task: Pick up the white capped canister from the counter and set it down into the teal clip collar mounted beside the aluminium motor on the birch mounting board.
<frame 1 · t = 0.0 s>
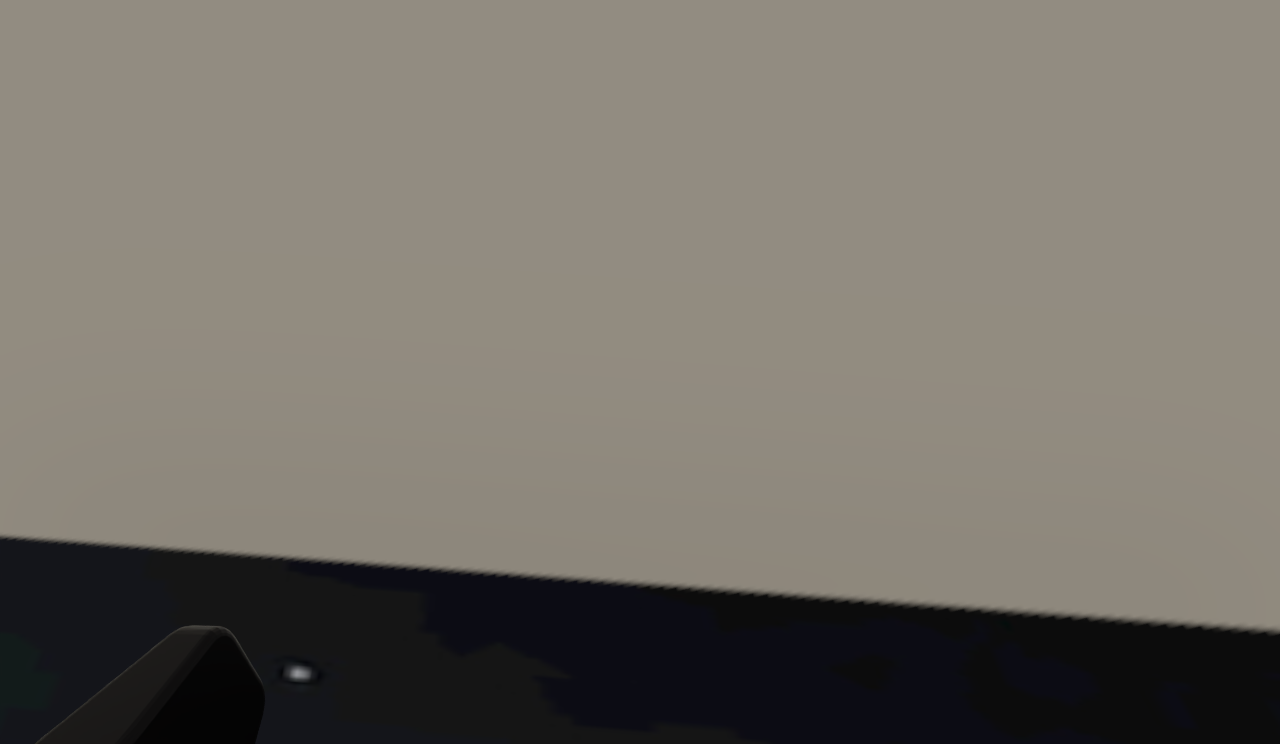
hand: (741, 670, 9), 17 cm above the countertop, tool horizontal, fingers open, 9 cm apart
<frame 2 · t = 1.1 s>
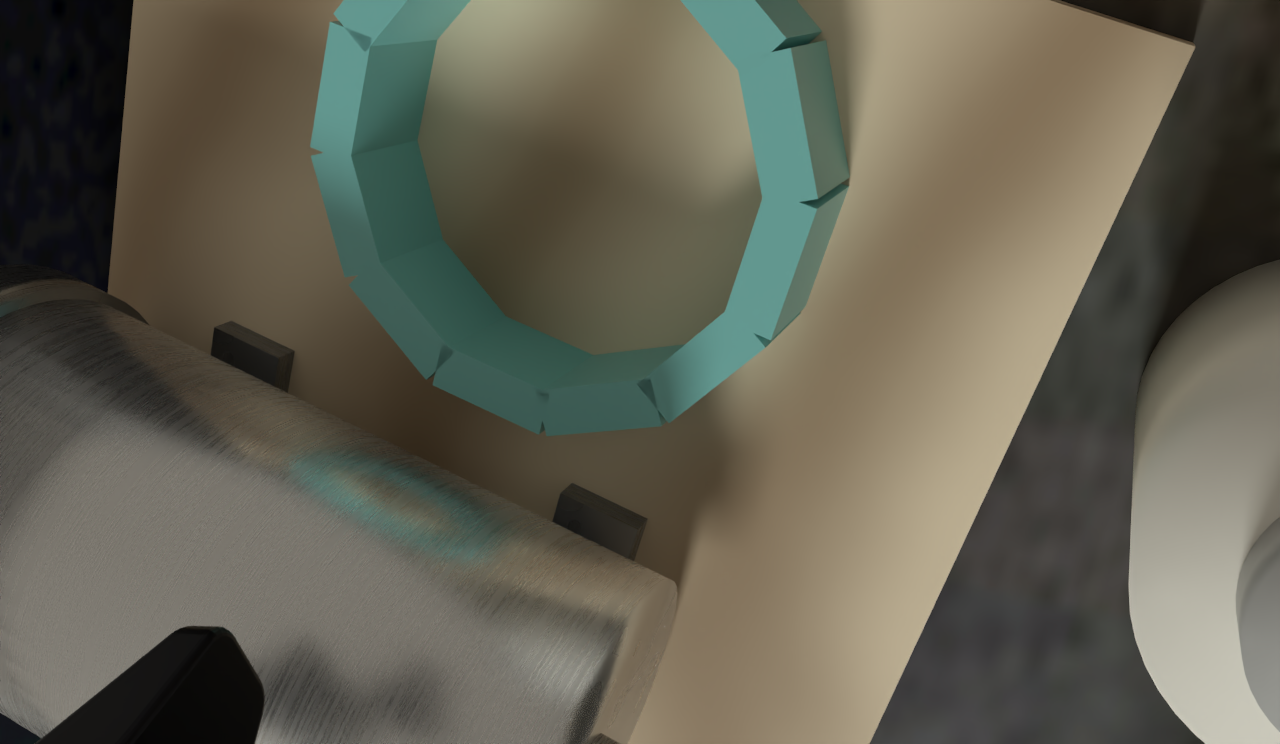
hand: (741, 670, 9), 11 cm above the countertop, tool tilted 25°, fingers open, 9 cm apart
clip collar: (619, 149, 21), resting on mount board
motor: (431, 500, 25), resting on mount board
mount board: (520, 329, 23), on the countertop
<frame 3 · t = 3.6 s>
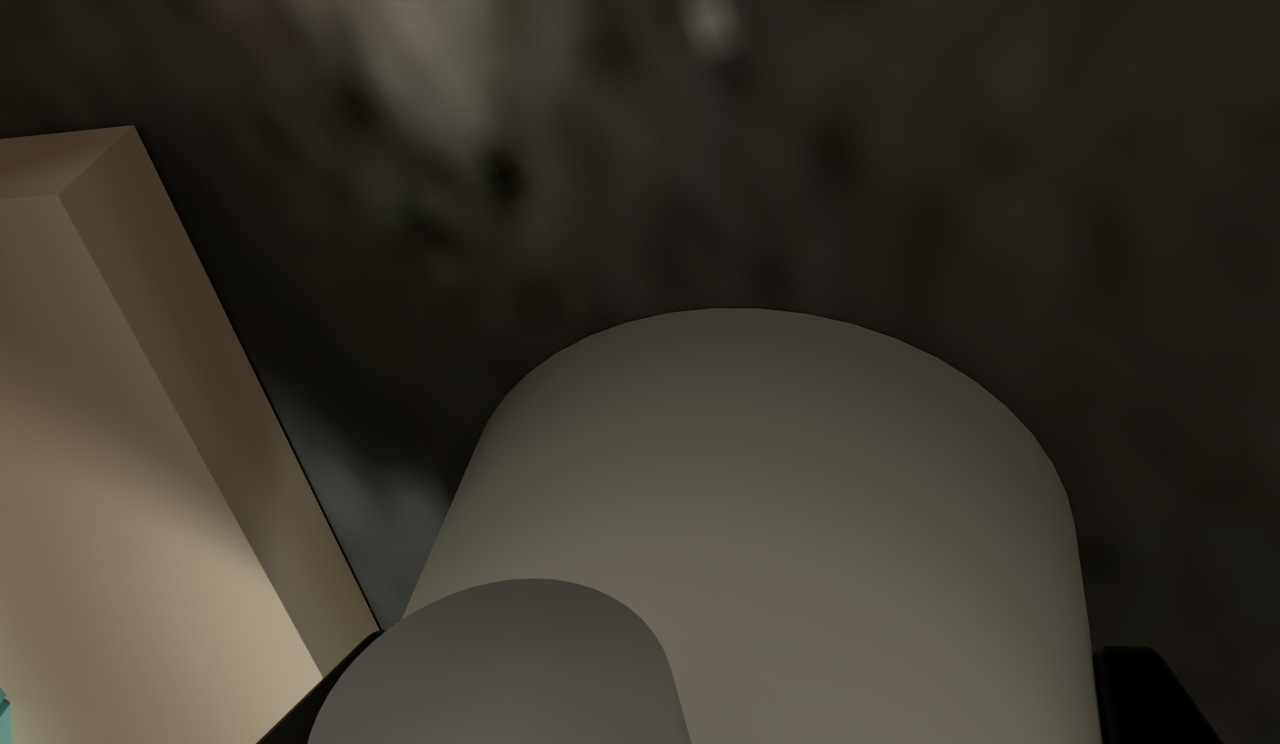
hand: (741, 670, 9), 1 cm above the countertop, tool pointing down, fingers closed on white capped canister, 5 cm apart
white capped canister: (758, 552, 10), on the countertop, touching gripper
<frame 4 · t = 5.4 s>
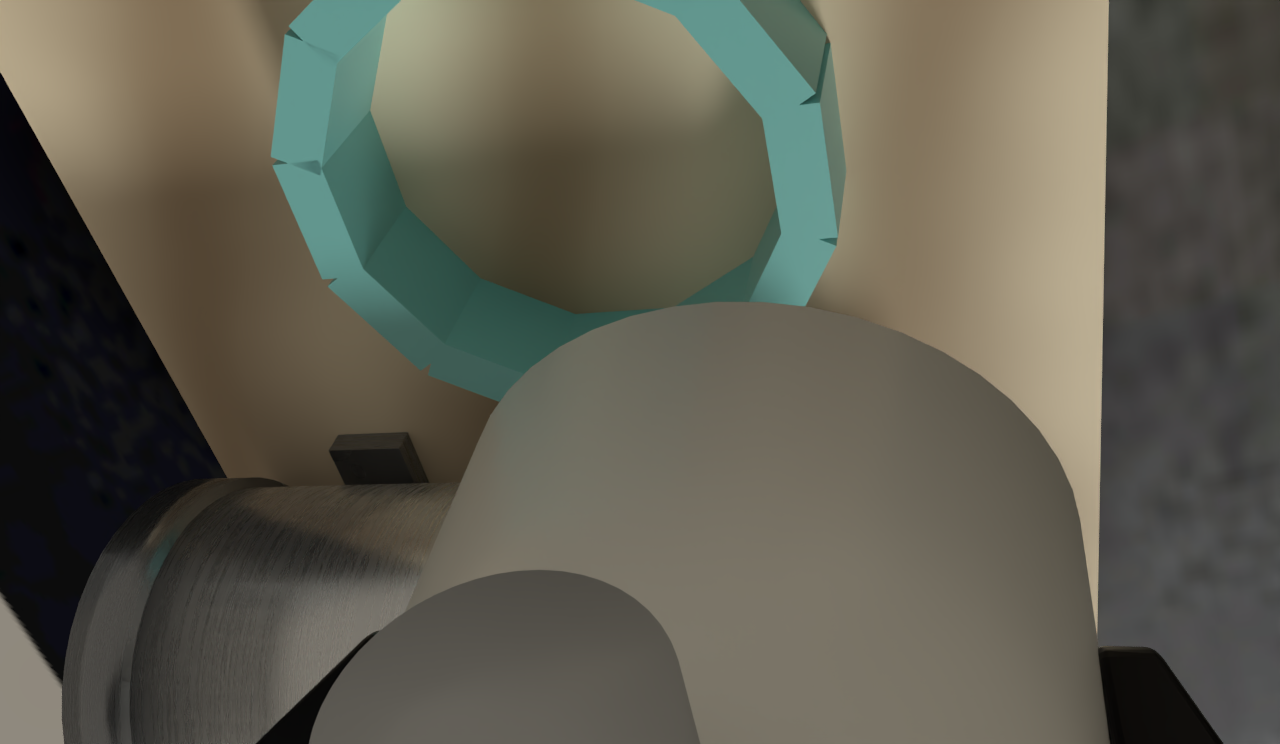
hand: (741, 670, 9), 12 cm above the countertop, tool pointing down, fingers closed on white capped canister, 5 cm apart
clip collar: (591, 110, 20), resting on mount board
motor: (596, 485, 25), resting on mount board
white capped canister: (761, 548, 10), point 11 cm above the countertop, touching gripper
mount board: (591, 309, 22), on the countertop
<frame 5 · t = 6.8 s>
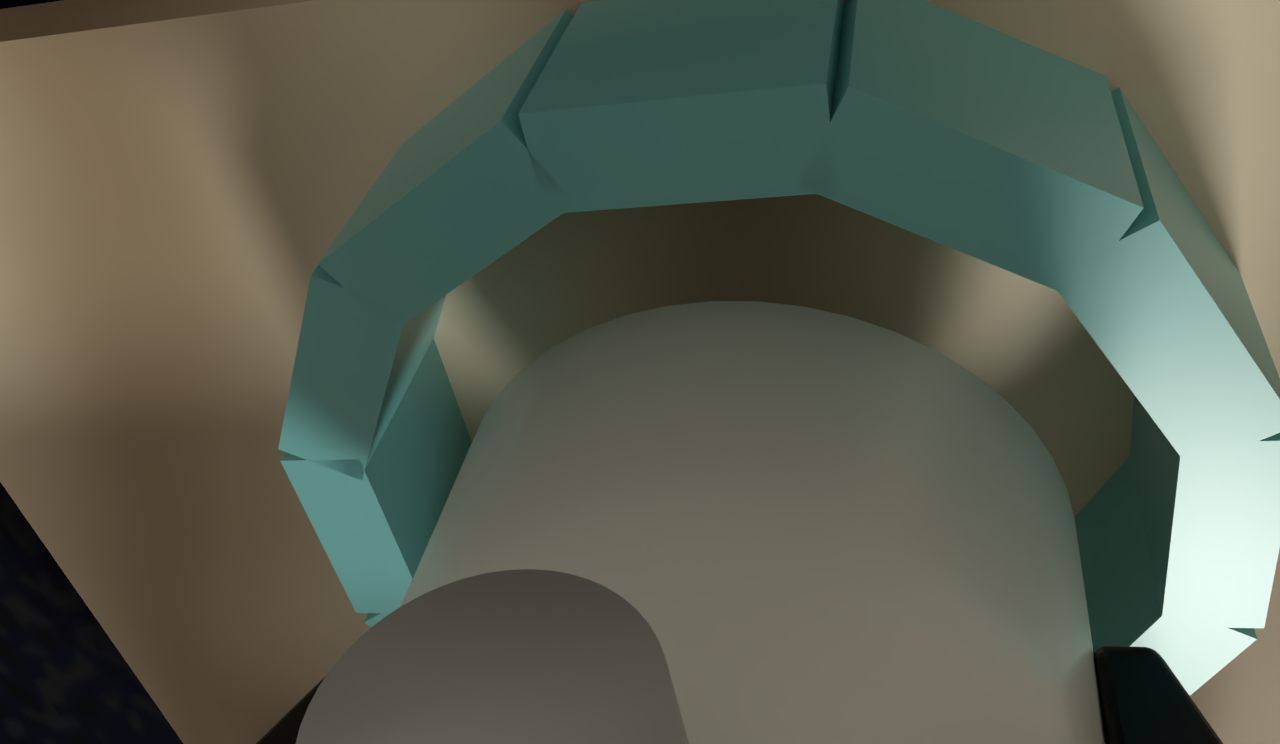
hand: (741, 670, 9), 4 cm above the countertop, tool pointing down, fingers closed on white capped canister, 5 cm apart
clip collar: (780, 336, 13), resting on mount board
white capped canister: (756, 548, 10), point 3 cm above the countertop, touching gripper
mount board: (739, 587, 15), on the countertop
when the fingers open (4 cm above the countertop, at t = 7.6 s): white capped canister drops 2 cm, resting on mount board.
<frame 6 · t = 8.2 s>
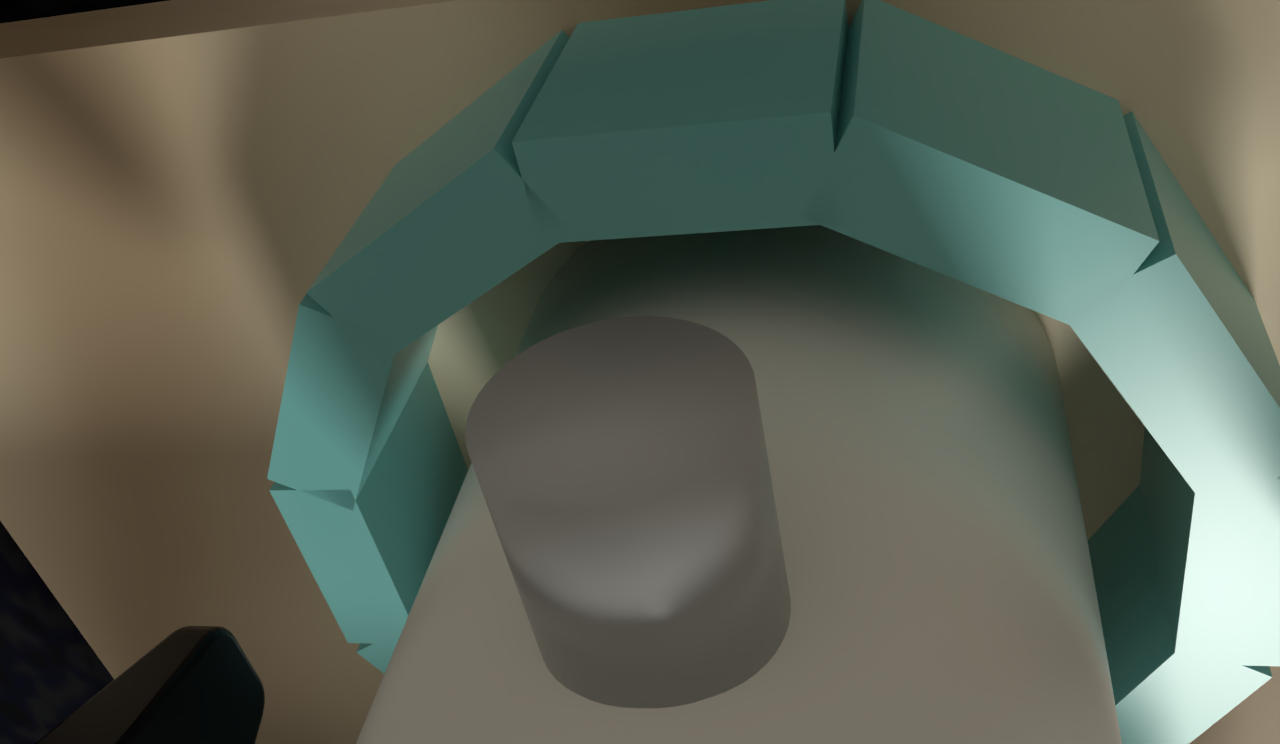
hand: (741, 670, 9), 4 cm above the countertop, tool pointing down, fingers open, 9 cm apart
clip collar: (782, 358, 12), resting on mount board
white capped canister: (779, 417, 11), point 1 cm above the countertop, touching mount board
mount board: (740, 611, 15), on the countertop
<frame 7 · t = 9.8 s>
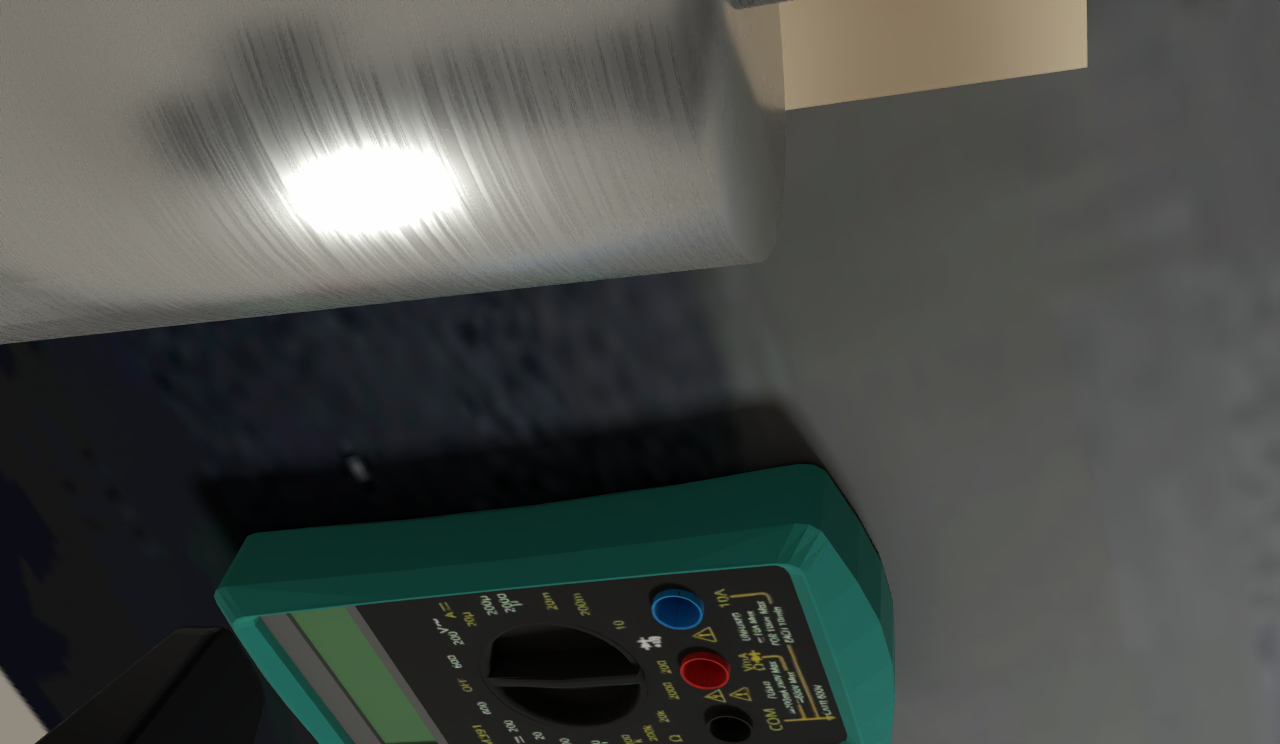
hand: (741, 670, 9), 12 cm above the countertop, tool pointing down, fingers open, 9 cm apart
digital multimeter: (570, 586, 28), on the countertop
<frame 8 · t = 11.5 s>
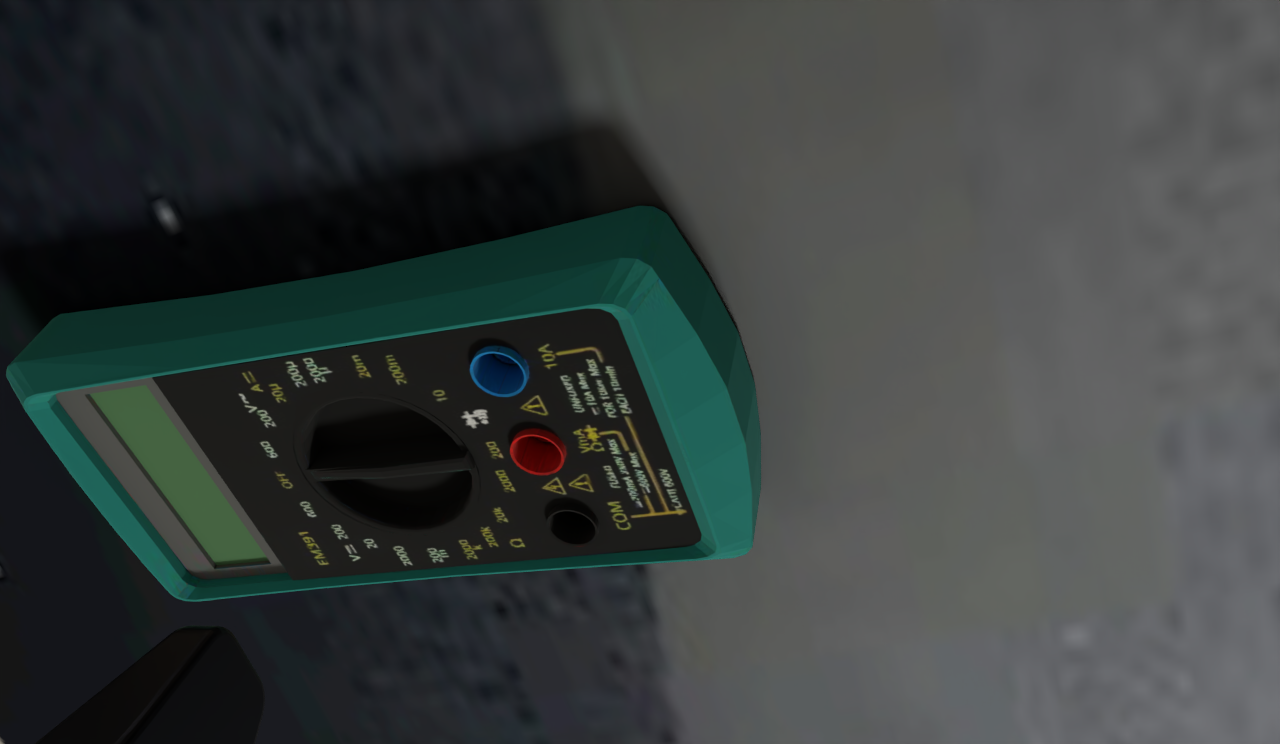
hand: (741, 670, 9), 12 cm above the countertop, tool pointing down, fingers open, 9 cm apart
digital multimeter: (412, 383, 26), on the countertop
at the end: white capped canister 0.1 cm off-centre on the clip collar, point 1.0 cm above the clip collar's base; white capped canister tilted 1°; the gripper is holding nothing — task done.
